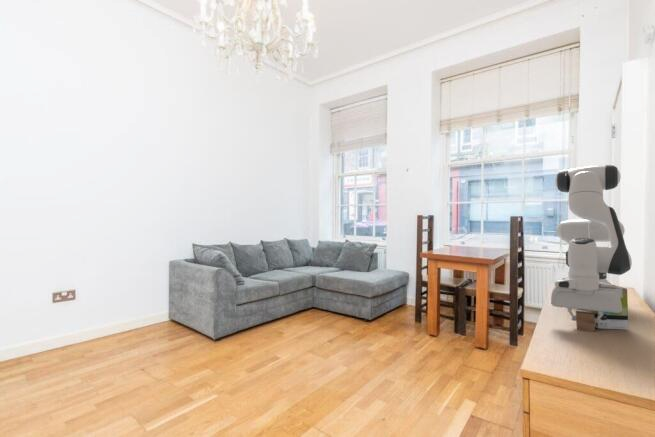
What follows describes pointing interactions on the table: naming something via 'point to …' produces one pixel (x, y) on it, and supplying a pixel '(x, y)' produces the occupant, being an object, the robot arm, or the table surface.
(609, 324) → the tea box
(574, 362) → the table surface
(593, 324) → the walnut block
